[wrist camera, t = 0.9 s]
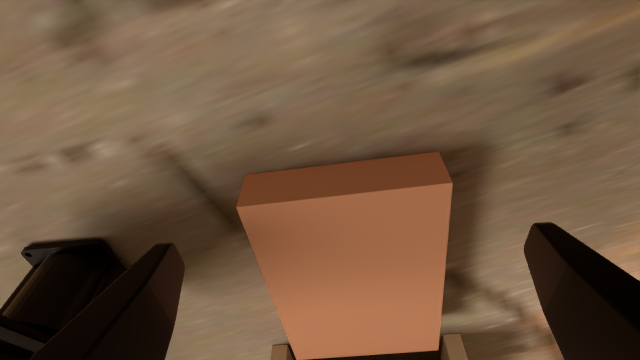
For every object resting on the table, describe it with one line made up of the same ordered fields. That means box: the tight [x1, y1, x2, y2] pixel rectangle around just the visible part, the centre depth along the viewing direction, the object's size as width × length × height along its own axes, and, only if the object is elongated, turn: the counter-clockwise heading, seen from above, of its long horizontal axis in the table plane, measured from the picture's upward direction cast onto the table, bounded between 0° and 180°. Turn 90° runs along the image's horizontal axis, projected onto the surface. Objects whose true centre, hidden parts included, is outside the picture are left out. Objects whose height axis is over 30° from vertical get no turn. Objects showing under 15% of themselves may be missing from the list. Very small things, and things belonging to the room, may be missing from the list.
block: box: [236, 152, 453, 360], centre depth 27 cm, size 12×18×4 cm, turn 9°
